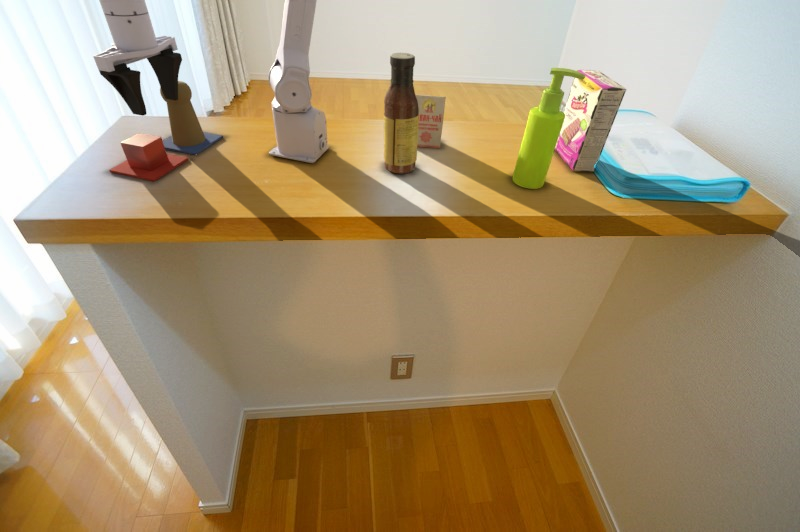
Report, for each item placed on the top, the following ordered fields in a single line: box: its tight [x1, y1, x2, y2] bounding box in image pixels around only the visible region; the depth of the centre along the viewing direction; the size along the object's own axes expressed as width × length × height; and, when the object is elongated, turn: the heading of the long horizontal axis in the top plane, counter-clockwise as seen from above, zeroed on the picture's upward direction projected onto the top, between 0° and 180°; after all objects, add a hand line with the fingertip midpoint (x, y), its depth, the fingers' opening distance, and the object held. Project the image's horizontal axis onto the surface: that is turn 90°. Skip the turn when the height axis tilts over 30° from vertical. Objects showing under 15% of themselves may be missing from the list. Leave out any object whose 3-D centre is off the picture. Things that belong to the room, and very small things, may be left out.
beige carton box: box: [415, 93, 447, 149], centre depth 86 cm, size 4×7×10 cm, turn 87°
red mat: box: [108, 153, 189, 182], centre depth 74 cm, size 9×9×1 cm
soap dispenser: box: [511, 67, 585, 190], centre depth 72 cm, size 6×7×20 cm
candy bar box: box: [554, 69, 627, 173], centre depth 82 cm, size 11×5×16 cm, turn 6°
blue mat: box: [162, 131, 224, 156], centre depth 83 cm, size 9×9×1 cm
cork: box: [159, 80, 206, 147], centre depth 79 cm, size 6×6×11 cm
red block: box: [119, 132, 169, 171], centre depth 73 cm, size 4×4×4 cm
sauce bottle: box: [383, 52, 419, 175], centre depth 73 cm, size 6×6×20 cm
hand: (156, 106), depth 69 cm, fingers open, 7 cm apart
